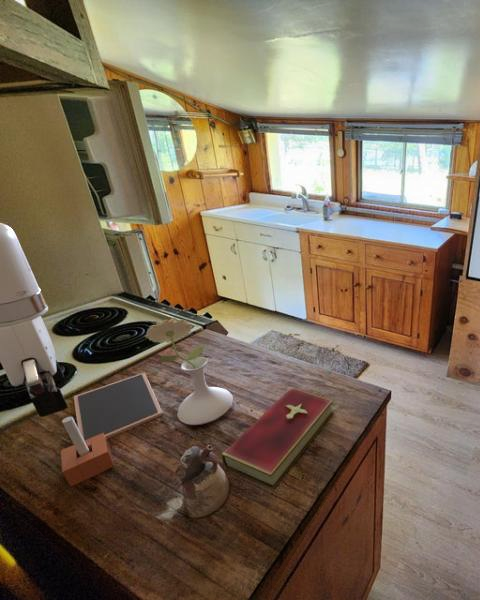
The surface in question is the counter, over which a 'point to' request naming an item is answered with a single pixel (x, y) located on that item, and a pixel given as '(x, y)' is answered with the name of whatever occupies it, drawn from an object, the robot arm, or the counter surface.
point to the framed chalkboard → (116, 407)
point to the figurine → (202, 481)
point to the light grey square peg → (75, 436)
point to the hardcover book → (278, 437)
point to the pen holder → (86, 460)
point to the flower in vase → (192, 376)
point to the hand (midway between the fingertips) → (53, 396)
